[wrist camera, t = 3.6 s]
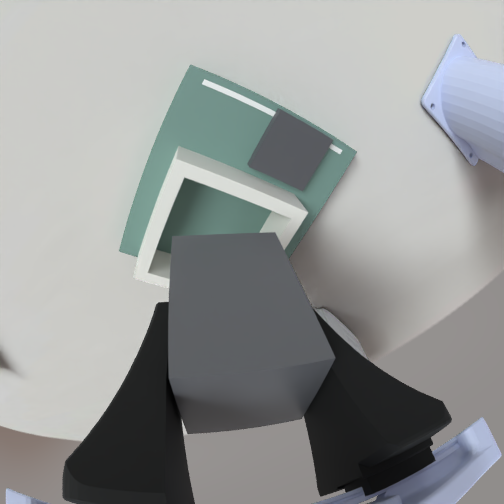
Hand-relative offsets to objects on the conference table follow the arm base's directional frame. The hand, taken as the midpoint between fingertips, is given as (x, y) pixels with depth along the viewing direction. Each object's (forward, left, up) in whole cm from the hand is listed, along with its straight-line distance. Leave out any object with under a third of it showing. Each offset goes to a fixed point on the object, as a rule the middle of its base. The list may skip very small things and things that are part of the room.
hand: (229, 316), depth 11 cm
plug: (0, 0, -2) cm, 2 cm away
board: (-1, -2, -9) cm, 9 cm away
